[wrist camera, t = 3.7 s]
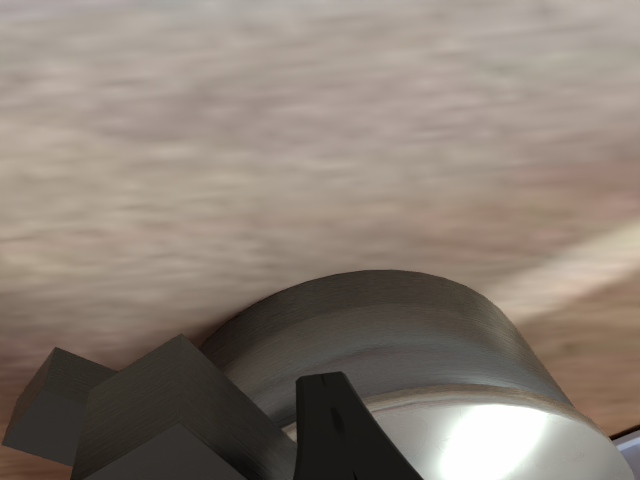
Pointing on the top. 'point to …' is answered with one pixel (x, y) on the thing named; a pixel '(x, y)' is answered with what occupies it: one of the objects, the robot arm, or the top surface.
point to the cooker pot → (316, 352)
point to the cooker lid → (281, 444)
